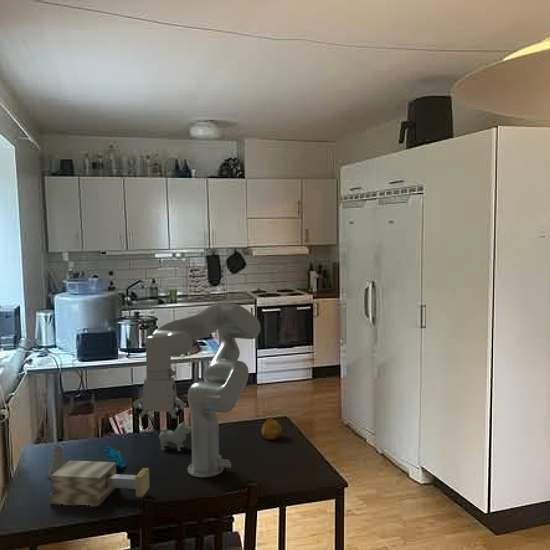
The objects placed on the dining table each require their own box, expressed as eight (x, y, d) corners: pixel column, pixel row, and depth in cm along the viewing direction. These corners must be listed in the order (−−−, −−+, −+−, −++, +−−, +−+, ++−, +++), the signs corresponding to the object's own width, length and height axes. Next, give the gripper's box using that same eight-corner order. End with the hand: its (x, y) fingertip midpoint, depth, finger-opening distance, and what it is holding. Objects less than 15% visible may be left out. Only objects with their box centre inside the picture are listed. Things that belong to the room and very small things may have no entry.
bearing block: (117, 486, 178) (117, 461, 178) (99, 506, 164) (98, 479, 164) (72, 483, 180) (71, 459, 180) (49, 503, 166) (48, 477, 166)
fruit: (258, 428, 226) (261, 415, 221) (277, 428, 228) (280, 415, 223) (261, 444, 219) (264, 431, 215) (280, 444, 221) (284, 431, 217)
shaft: (149, 487, 173) (148, 468, 173) (142, 496, 167) (141, 476, 166) (89, 484, 175) (88, 465, 175) (80, 493, 169) (79, 474, 169)
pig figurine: (189, 451, 207) (189, 424, 207) (158, 450, 209) (157, 423, 208) (193, 446, 212) (193, 420, 212) (162, 445, 214) (162, 419, 213)
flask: (56, 481, 182) (55, 452, 182) (43, 476, 186) (42, 448, 185) (74, 473, 188) (73, 445, 188) (61, 469, 192) (60, 442, 192)
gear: (123, 468, 188) (103, 448, 189) (111, 481, 188) (91, 461, 188) (131, 460, 199) (112, 441, 200) (119, 472, 199) (100, 453, 199)
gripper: (189, 372, 170) (190, 426, 171) (136, 371, 172) (137, 424, 173) (182, 378, 162) (183, 434, 163) (127, 376, 164) (128, 432, 165)
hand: (159, 428), depth 168 cm, fingers open, 8 cm apart
